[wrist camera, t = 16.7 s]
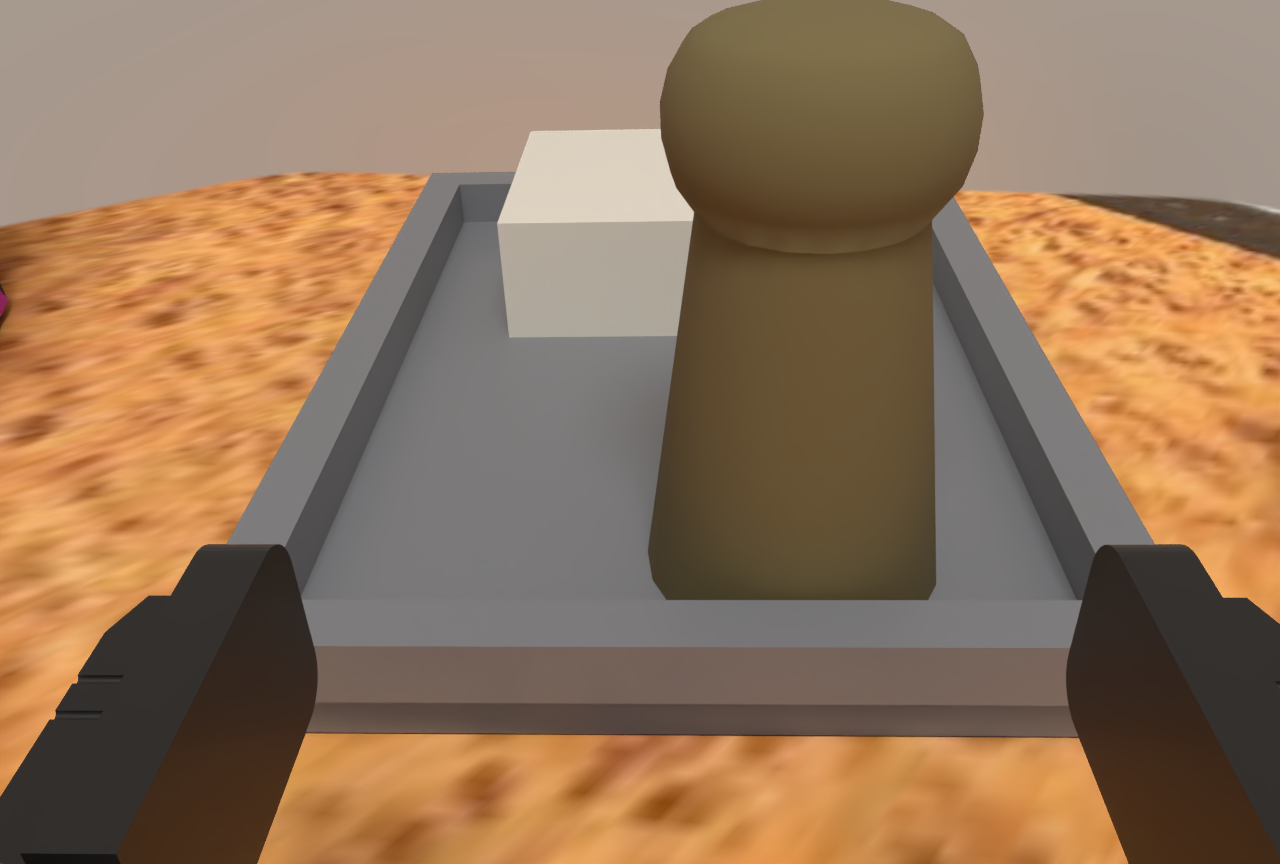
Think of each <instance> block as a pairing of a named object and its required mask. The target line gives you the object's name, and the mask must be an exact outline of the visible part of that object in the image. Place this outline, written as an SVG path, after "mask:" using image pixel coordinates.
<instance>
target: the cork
mask: <svg viewBox="0 0 1280 864" xmlns="http://www.w3.org/2000/svg"><path fill="white" fill-rule="evenodd" d="M660 116H661V117H660V118H661V139H662V143H663V147H664V150H665V154H666V158H667V161H668V165H669V169H670V172H671V175H672V178H673V180H674V183H675V186H676V188H677V190H678V191H679V192H680V194H681V195H682V197H683V198H684V199H685V201H686V202H687V203H688V205H689V206H690V207H691V209H692V210H693V211H694V216H693V223H692V230H691V238H690V245H689V252H688V260H687V267H686V274H685V282H684V289H683V296H682V304H681V311H680V318H679V326H678V333H677V340H676V347H675V355H674V362H673V369H672V377H671V384H670V391H669V399H668V406H667V413H666V421H665V428H664V435H663V443H662V450H661V457H660V465H659V472H658V479H657V486H656V494H655V501H654V508H653V516H652V523H651V530H650V538H649V545H648V556H649V562H650V567H651V573H652V579H653V581H654V583H655V584H656V586H657V587H658V588H659V590H660V591H661V593H662V594H663V596H664V597H665V598H666V600H928V599H929V597H930V595H931V594H932V592H933V590H934V588H935V586H936V515H935V427H934V338H933V250H932V220H933V218H934V217H935V216H936V215H937V214H938V213H939V212H940V211H941V210H942V209H943V208H944V207H945V205H946V204H947V203H948V202H949V201H950V200H951V199H952V198H953V197H954V196H955V194H956V193H957V192H958V191H959V190H960V189H961V188H962V186H963V184H964V182H965V179H966V177H967V175H968V173H969V170H970V168H971V165H972V163H973V161H974V158H975V156H976V153H977V151H978V145H979V139H980V133H981V126H982V120H983V103H982V94H981V83H980V75H979V69H978V64H977V62H976V60H975V58H974V56H973V53H972V51H971V49H970V47H969V44H968V42H967V40H966V38H965V36H964V34H963V33H962V32H960V31H959V30H957V29H956V28H955V27H953V26H952V25H951V24H949V23H948V22H946V21H945V20H943V19H942V18H940V17H939V16H937V15H936V14H934V13H933V12H930V11H927V10H924V9H921V8H917V7H914V6H911V5H907V4H901V3H898V2H893V1H889V0H761V1H757V2H752V3H747V4H743V5H739V6H735V7H731V8H727V9H725V10H722V11H720V12H718V13H716V14H714V15H711V16H710V17H708V18H707V19H705V20H704V21H702V22H701V23H699V24H698V25H696V26H695V27H693V28H692V29H691V30H690V32H689V33H688V34H687V36H686V37H685V39H684V40H683V42H682V44H681V46H680V47H679V49H678V51H677V53H676V55H675V56H674V58H673V60H672V62H671V63H670V65H669V67H668V69H667V74H666V78H665V82H664V87H663V91H662V96H661V100H660Z"/></svg>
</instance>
